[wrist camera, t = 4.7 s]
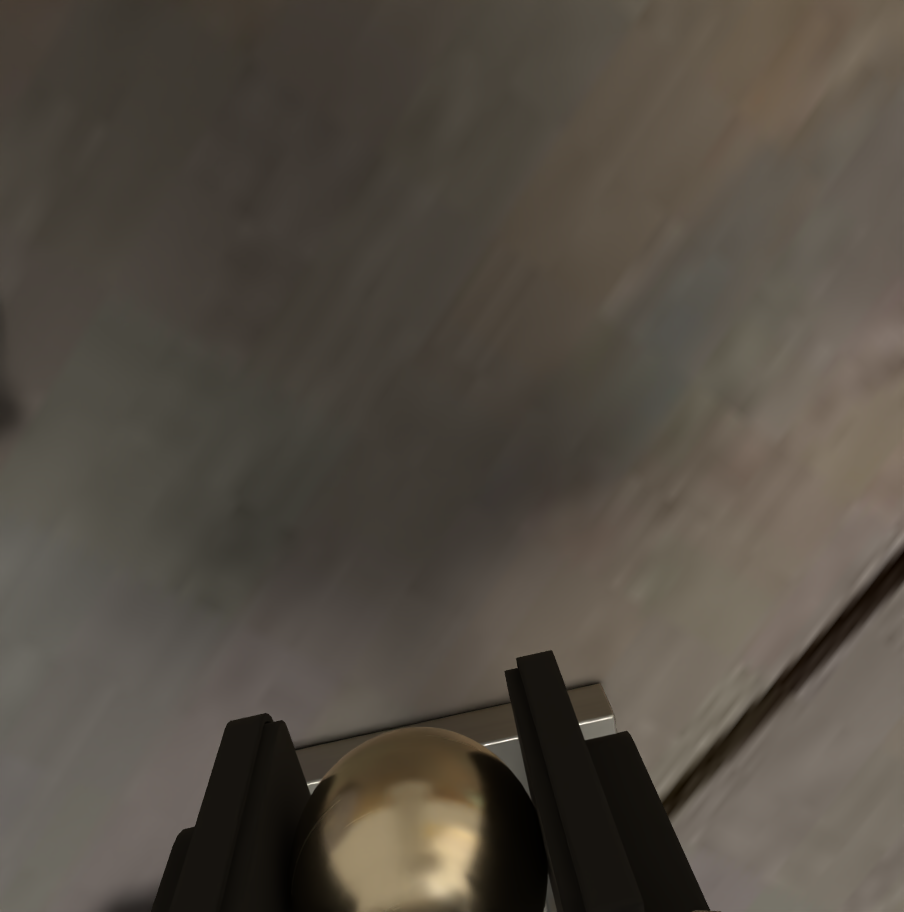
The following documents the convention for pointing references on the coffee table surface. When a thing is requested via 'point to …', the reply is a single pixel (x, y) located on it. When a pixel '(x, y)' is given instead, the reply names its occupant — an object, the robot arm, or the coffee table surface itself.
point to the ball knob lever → (418, 831)
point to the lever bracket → (478, 739)
